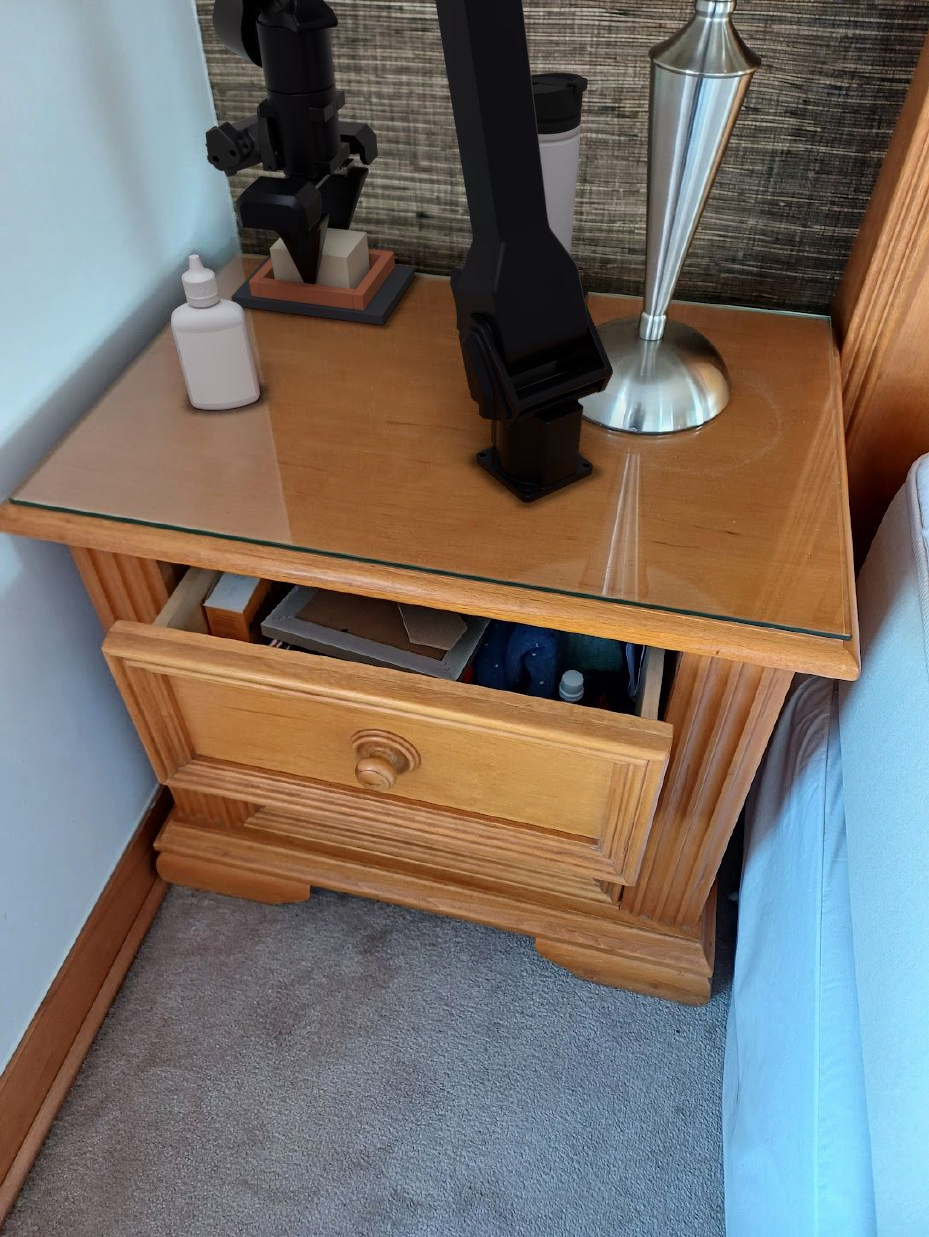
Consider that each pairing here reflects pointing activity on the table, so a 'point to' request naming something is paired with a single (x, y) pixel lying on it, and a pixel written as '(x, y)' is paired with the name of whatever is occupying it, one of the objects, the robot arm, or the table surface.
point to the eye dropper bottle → (213, 344)
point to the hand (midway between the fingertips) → (323, 267)
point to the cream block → (329, 260)
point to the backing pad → (330, 292)
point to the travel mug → (559, 145)
